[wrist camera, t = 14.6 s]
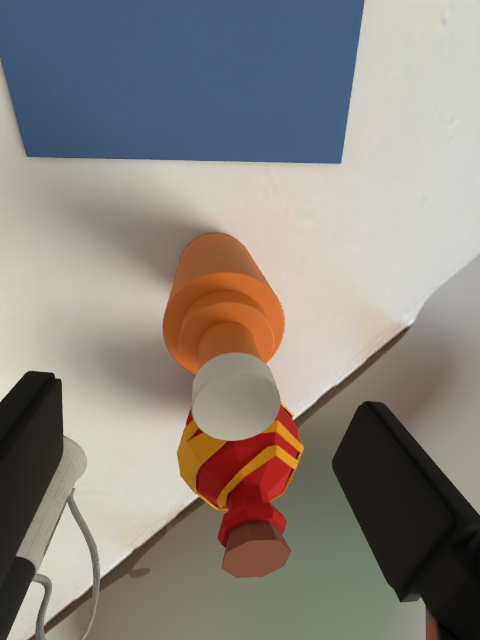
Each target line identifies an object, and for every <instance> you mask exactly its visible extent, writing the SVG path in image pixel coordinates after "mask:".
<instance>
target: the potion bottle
mask: <svg viewBox="0 0 480 640" xmlns="http://www.w3.org/2000/svg"><path fill="white" fill-rule="evenodd" d="M280 403H281V404H280V409H279V412H278V415H277V417H276V419H275V420H274V421H273V423H272V424H271V425H270V426H269V427H268V428H267V429H265V430H264V431H263V432H261V433H259V434H258V435H255V436H253V437H250V438H247V439H243V440H236V441H227V440H221V439H217V438H214V437H211V436H209V435H208V434H206V433H204V432H203V431H202V430H201V429H200V428H199V427H198V426H197V424H196V423H195V421H194V419H193V416H192V406H191V409H190V412H189V415H188V418H187V422H186V428H185V429H184V431H183V435H182V438H181V442H180V445H179V448H178V451H177V456H178V462H179V469H180V475H181V477H182V478H183V479H184V481H185V482H186V483H187V484H188V486H189V487H190V488H191V489H192V490H193V492H194V493H195V494H197V495H198V496H199V497H201V498H202V499H203V500H205V501H206V502H207V503H208V504H209V505H211V506H212V507H214V508H215V509H216V510H224V511H228V512H227V513H225V514H224V516H223V519H222V523H221V527H220V530H219V534H218V540H219V541H220V543H221V545H223V546H224V547H226V549H225V554H224V559H223V563H222V569H224V570H225V571H227V572H228V573H230V574H231V575H233V576H235V577H236V578H241V577H243V578H244V577H262V576H265V575H267V574H269V573H271V572H273V571H275V570H277V569H279V568H281V567H283V566H284V565H285V563H286V561H287V559H288V557H289V555H290V553H291V550H290V548H289V547H288V545H287V543H286V541H285V540H284V538H283V536H282V534H283V532H284V529H285V526H286V522H287V521H286V520H285V518H284V516H283V515H282V514H281V513H280V512H279V511H278V510H277V509H276V508H275V507H274V506H272V505H271V504H270V502H271V501H273V500H275V499H276V498H278V497H280V496H282V495H283V494H284V492H285V491H286V489H287V486H288V485H289V484H290V482H291V479H292V477H293V474H294V472H295V470H296V467H297V464H298V461H299V459H300V456H301V454H302V451H303V448H304V446H303V444H302V442H301V439H300V437H299V432H298V428H297V426H296V424H295V423H294V422H293V420H292V419H293V416H294V415H293V414H292V413H291V412H290V411H289V410H288V409H287V408H286V407H285V406H284V405H283V403H282V402H281V401H280ZM283 407H284V408H283Z"/></svg>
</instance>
